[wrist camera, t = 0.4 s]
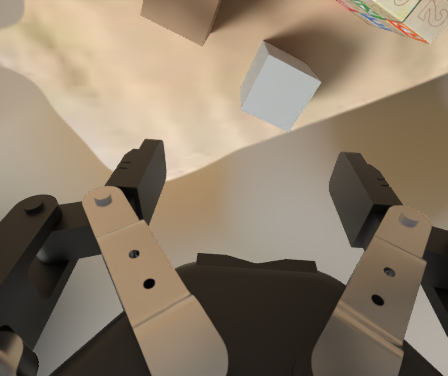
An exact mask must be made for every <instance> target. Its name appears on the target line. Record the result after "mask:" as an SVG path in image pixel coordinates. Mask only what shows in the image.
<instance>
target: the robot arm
mask: <svg viewBox="0 0 448 376" xmlns="http://www.w3.org/2000/svg"><path fill="white" fill-rule="evenodd" d="M165 180H166V162H165V153H164V144H163V141H162V140H155V139H145V140H144V141H143V143H142V145H141V146H140V148H139V149H133V150H131V151H130V152H128V153H127V154H125V155H124V157H123V158H122V160H121V161H120V163H119V164H118V166H117V169H115V171H114V172H113V174H112V175H111V177H110V178H109V180H108V181H107V183H106V184H105V186H104V187H99V188H96V189H93V190H92V191H90V192H88V193H87V194H86V195H85V196H84V198H83V200H82V201H81V202H75V203H69V204H62V205H59V204H58V202H57V200H56V198H55V197H53V196H51V195H36V196H32V197H29V198H26V199H24V200H22V201H20V202H19V203H18V204H16V205H15V206H14V207H13V208H12V209H11V210H10V212H9V213H8V214H7V215H6V216H5V217H4V218H3V219H2V221H1V222H0V376H37V372H38V369H39V359H38V356H37V355H36V353H35V352H34V351H33V349H34V347H35V345H36V343H37V341H38V339H39V337H40V335H41V333H42V331H43V329H44V327H45V325H46V323H47V321H48V319H49V317H50V315H51V313H52V311H53V309H54V307H55V305H56V303H57V301H58V299H59V297H60V295H61V293H62V291H63V289H64V287H65V285H66V283H67V281H68V279H69V277H70V275H71V273H72V271H73V269H74V267H75V265H76V263H77V261H78V259H79V258H85V257H90V256H94V255H99V254H101V255H102V257H103V260H104V262H105V265H106V267H107V270H108V272H109V274H110V277H111V280H112V282H113V285H114V287H115V290H116V292H117V295H118V298H119V300H120V303H121V305H122V308H123V310H124V311H123V312H122V313H120V314H119V315H118V316H117V317H116V318H115V319H113V320H112V321H111V322H110V323H109V324H108V325H107V326H106V327H104V328H103V329H102V330H101V331H100V332H98V333H97V334H96V335H95V336H94V337H93V338H92V339H90V340H89V341H88V342H87V343H86V344H85V345H83V346H82V347H81V348H80V349H79V350H78V351H76V352H75V353H74V354H73V355H72V356H71V357H70V358H69V359H67V360H66V361H65V362H64V363H63V364H61V366H59V367H58V368H57V369H56V370H55V371H53V372H52V373H51V374H50V375H49V376H443V375H442V374H441V373H440V372H439V371H438V370H437V369H435V368H434V367H433V366H432V365H431V364H430V363H429V362H428V361H427V360H426V359H425V358H424V357H422V355H421V354H419V353H418V352H417V351H416V350H415V349H414V348H413V347H412V346H411V345H410V344H409V343H408V342H406V341H405V340H404V337H405V333H406V330H407V326H408V323H409V320H410V316H411V313H412V310H413V306H414V303H415V300H416V296H417V293H418V290H419V286H420V284H421V286H422V288H423V290H424V291H425V293H426V296H427V297H428V299H429V301H430V303H431V305H432V307H433V309H434V311H435V313H436V315H437V317H438V319H439V321H440V323H441V325H442V327H443V329H444V331H445V333H446V335H447V337H448V231H447V230H443V229H440V228H436V227H433V226H432V225H431V222H430V220H429V219H428V218H427V217H426V216H425V215H424V214H422V213H421V212H419V211H417V210H415V209H413V208H411V207H407V206H403V204H402V203H401V201H400V200H399V199H398V197H397V196H396V194H395V193H394V191H393V190H392V188H391V187H389V184H388V183H387V181H385V178H384V177H383V176H382V174H381V173H380V171H378V170H377V169H376V168H374V167H373V166H372V165H370V164H367V163H366V161H365V160H364V158H363V157H362V155H361V154H360V153H354V152H341V153H340V154H339V156H338V159H337V161H336V164H335V167H334V170H333V173H332V176H331V178H330V182H329V192H330V195H331V197H332V200H333V202H334V205H335V207H336V210H337V212H338V215H339V217H340V220H341V223H342V225H343V228H344V230H345V232H346V235H347V237H348V240H349V243H350V245H351V247H356V248H363V249H364V253H363V255H362V257H361V258H360V260H359V262H358V264H357V266H356V268H355V269H354V271H353V273H352V275H351V277H350V278H349V280H348V282H347V284H346V286H345V285H344V284H343V283H341V282H340V281H338V280H337V279H335V278H333V277H331V276H329V275H327V274H325V273H322V272H320V271H317V267H316V264H315V261H306V260H305V261H304V260H291V259H284V260H278V261H271V262H265V263H252V262H249V261H245V260H242V259H238V258H235V257H231V256H228V255H219V254H204V253H198V255H197V261H196V262H192V263H188V264H185V265H182V266H180V267H177V268H175V269H174V267H173V266H172V264H171V263H170V261H169V259H168V258H167V256H166V254H165V253H164V251H163V250H162V248H161V246H160V245H159V243H158V241H157V240H156V238H155V236H154V235H153V233H152V232H151V230H150V228H149V227H148V226H149V223H150V221H151V218H152V215H153V213H154V210H155V207H156V205H157V202H158V199H159V197H160V194H161V191H162V189H163V186H164V183H165Z"/></svg>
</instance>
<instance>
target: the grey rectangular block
mask: <svg viewBox="0 0 448 376" xmlns="http://www.w3.org/2000/svg"><path fill="white" fill-rule="evenodd" d="M320 84H321V81H320V80H319V78H318V77H317V76H316V75H315V74H314V72H313V71H312V70H311V69H310V68H309V66H308V65H307V64H306V63H305V62H303V61H301V60H299V59H297V58H295V57H293V56H291V55H290V54H288V53H286V52H284V51H282V50H280V49H278V48H276V47H275V46H273V45H271V44H269V43H267V42H265V41H262V44H261V46H260V48H259V50H258V52H257V54H256V56H255V58H254V60H253V62H252V64H251V66H250V68H249V71H248V73H247V75H246V77H245V79H244V81H243V83H242V85H241V87H240V89H241V110H242V111H244V112H246V113H248V114H251V115H253V116H255V117H257V118H259V119H261V120H263V121H266V122H268V123H270V124H272V125H274V126H276V127H279V128H281V129H283V130H285V131H287V132H289V131H290V130H291V128H292V127H293V125H294V124H295V122H296V120H297V119H298V117H299V116H300V114H301V113H302V111H303V110H304V108H305V107H306V105H307V104H308V102H309V101H310V99H311V98H312V96H313V95H314V93H315V92H316V90H317V88H318V87H319V85H320Z"/></svg>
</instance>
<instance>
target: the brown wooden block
mask: <svg viewBox="0 0 448 376" xmlns="http://www.w3.org/2000/svg"><path fill="white" fill-rule="evenodd" d="M221 2H222V0H143V5H142V9H141V14H140V15H141V16H143V17H145V18H147V19H149V20H151V21H153V22H155V23H157V24H159V25H161V26H163V27H165V28H167V29H169V30H171V31H173V32H175V33H177V34H179V35H181V36H183V37H185V38H187V39H189V40H191V41H193V42H195V43H197V44H199V45H201V46H203V45H204V43H205V41H206V39H207V38H208V36H209V34H210V32H211V29H212V27H213V24H214V21H215V18H216V16H217V13H218V10H219V8H220V5H221Z"/></svg>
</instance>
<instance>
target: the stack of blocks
mask: <svg viewBox="0 0 448 376" xmlns="http://www.w3.org/2000/svg"><path fill="white" fill-rule="evenodd" d="M336 1H338V2H339V3H341V4H342V5H343V6H345V7H346V8H347V9H349V10H350V11H351V12H352V13H354V14H355V15H356V16H358V17H359V18H360V19H362V20H363V21H365V22H366V23H367V24H369V25H371V26H375V27H377V28H383V29H386V30H389V31H392V32H394V33H396V34H399V35H402V36H405V37H409V38H413V39H416V40H419V41H422V42H425V43H428V44H430V43H432V42H433V41H434V39H435V38H436V37H437V36H438V35H439V34H440V33H441V32H442V30H443V29H444V28H445V27H446V26H447V25H448V0H336Z"/></svg>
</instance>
